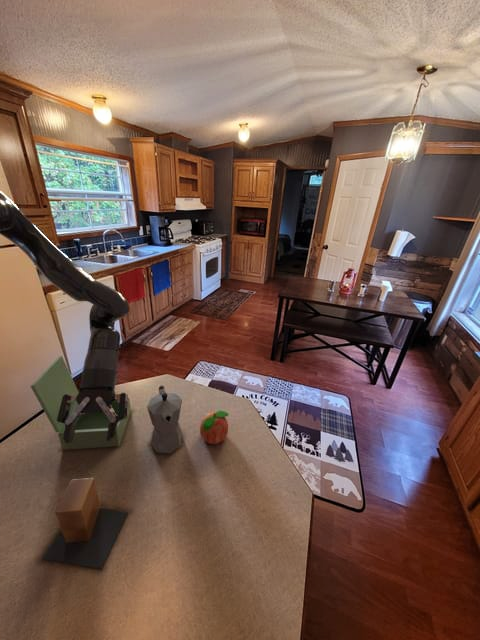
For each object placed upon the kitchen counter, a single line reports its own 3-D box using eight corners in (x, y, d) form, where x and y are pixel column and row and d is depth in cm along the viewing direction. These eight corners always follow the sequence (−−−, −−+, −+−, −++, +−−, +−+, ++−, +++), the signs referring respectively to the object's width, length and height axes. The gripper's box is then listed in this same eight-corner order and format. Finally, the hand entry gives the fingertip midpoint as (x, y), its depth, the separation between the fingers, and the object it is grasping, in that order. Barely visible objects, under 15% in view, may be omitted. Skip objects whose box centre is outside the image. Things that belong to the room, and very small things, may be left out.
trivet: (43, 561, 49) (41, 559, 49) (78, 506, 58) (77, 504, 58) (102, 572, 48) (101, 569, 48) (128, 514, 57) (128, 512, 57)
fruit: (193, 435, 79) (193, 410, 75) (218, 422, 84) (220, 398, 80) (208, 455, 73) (209, 430, 69) (234, 440, 78) (236, 415, 74)
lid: (61, 355, 74) (59, 356, 74) (33, 385, 61) (30, 386, 61) (81, 397, 80) (78, 397, 80) (59, 432, 68) (56, 432, 68)
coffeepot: (187, 456, 72) (187, 406, 65) (153, 466, 68) (148, 415, 61) (177, 417, 85) (176, 373, 78) (147, 425, 81) (143, 378, 74)
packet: (100, 507, 58) (93, 477, 54) (89, 540, 52) (80, 510, 48) (79, 509, 57) (71, 479, 53) (65, 543, 51) (55, 512, 47)
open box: (131, 413, 85) (129, 396, 83) (119, 448, 73) (116, 430, 70) (83, 415, 83) (80, 398, 80) (63, 451, 70) (57, 433, 68)
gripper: (61, 367, 58) (45, 445, 52) (127, 366, 60) (118, 441, 54) (76, 372, 65) (62, 442, 59) (134, 371, 67) (127, 438, 61)
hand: (89, 441), depth 57 cm, fingers open, 8 cm apart
